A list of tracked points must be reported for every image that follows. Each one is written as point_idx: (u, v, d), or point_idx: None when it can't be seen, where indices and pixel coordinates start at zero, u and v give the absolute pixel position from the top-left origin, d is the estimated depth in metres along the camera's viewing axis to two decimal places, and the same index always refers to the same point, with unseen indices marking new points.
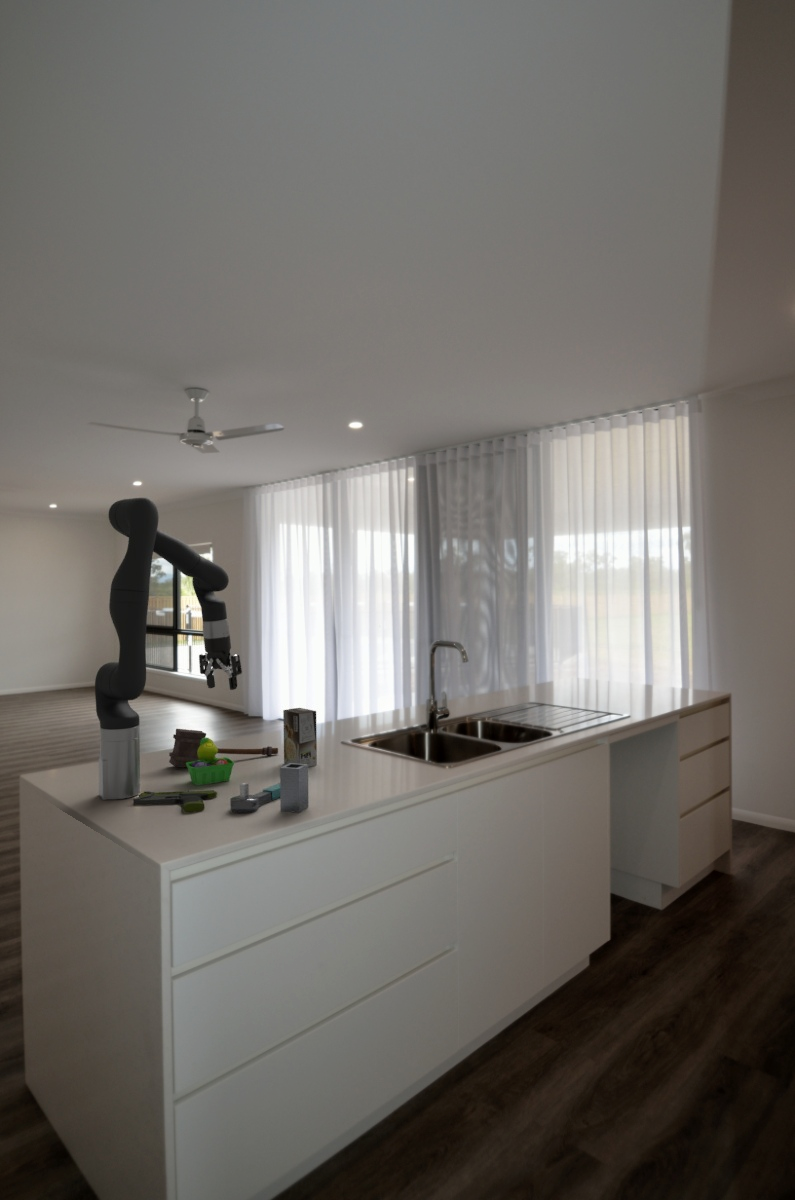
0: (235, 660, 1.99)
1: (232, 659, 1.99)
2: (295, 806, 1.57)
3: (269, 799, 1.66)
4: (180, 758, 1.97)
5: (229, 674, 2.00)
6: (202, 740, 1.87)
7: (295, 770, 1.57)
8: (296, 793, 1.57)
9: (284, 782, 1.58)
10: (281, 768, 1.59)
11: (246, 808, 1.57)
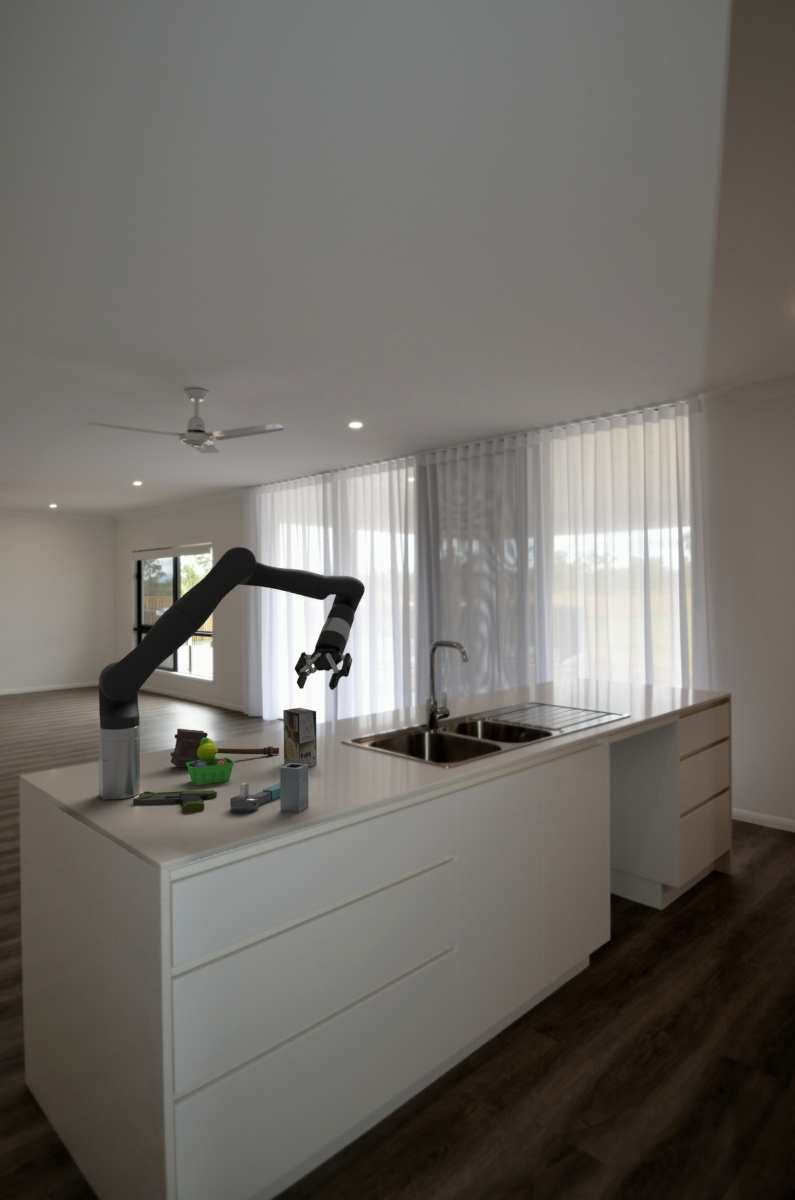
0: (349, 658, 1.75)
1: (347, 655, 1.75)
2: (295, 806, 1.57)
3: (269, 799, 1.66)
4: (181, 758, 1.97)
5: (335, 669, 1.72)
6: (202, 740, 1.87)
7: (295, 770, 1.57)
8: (296, 793, 1.57)
9: (284, 782, 1.58)
10: (281, 768, 1.59)
11: (246, 808, 1.57)
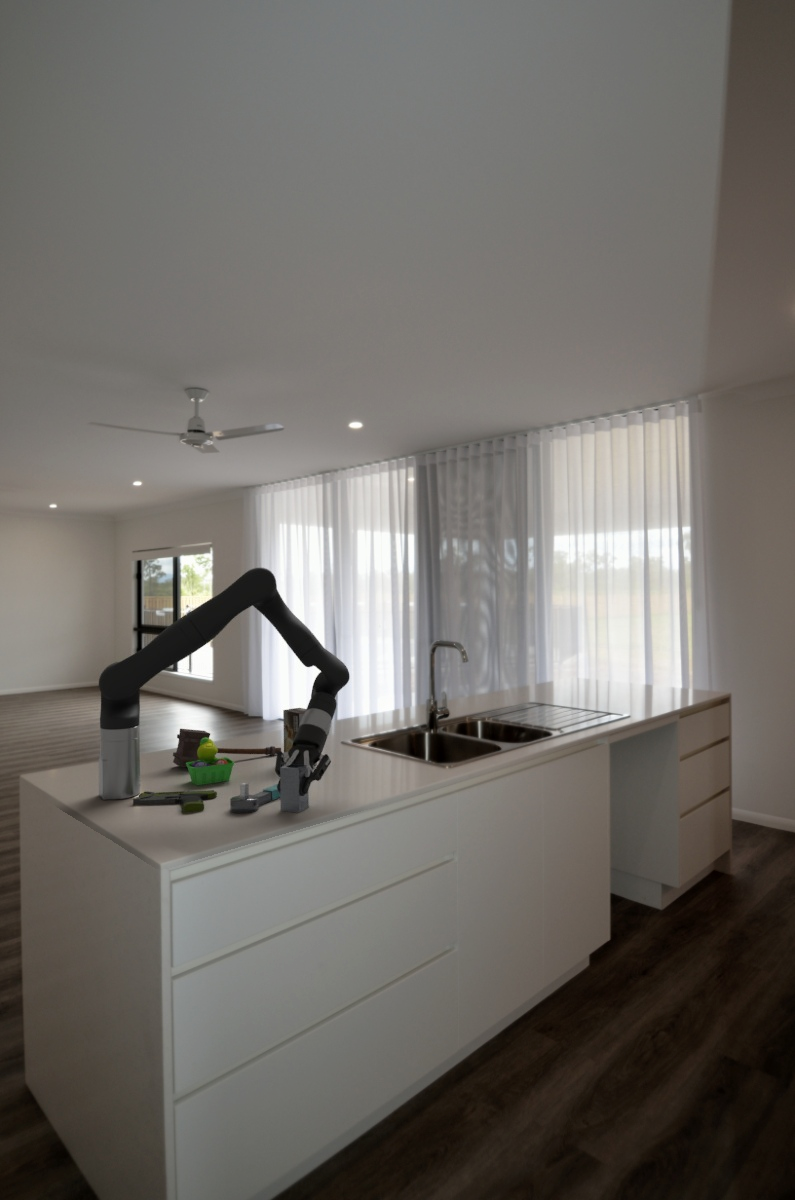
0: (326, 761, 1.62)
1: (324, 758, 1.62)
2: (295, 806, 1.57)
3: (269, 799, 1.66)
4: (184, 758, 1.97)
5: (307, 773, 1.60)
6: (202, 740, 1.87)
7: (295, 770, 1.57)
8: (296, 793, 1.57)
9: (284, 782, 1.58)
10: (281, 768, 1.59)
11: (246, 808, 1.57)
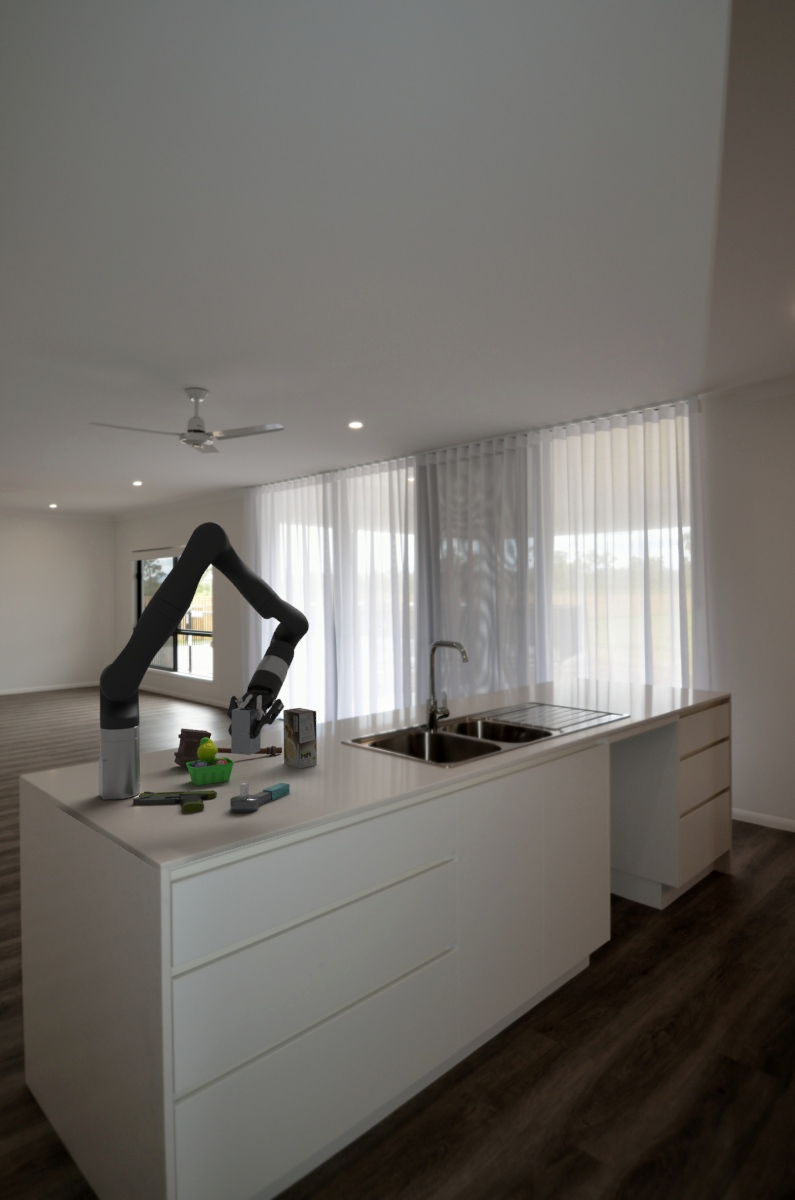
0: (278, 705, 1.61)
1: (277, 702, 1.61)
2: (246, 749, 1.57)
3: (269, 799, 1.66)
4: (185, 757, 1.98)
5: (259, 716, 1.59)
6: (202, 740, 1.87)
7: (246, 712, 1.57)
8: (247, 735, 1.57)
9: (235, 725, 1.58)
10: (233, 710, 1.58)
11: (246, 808, 1.57)
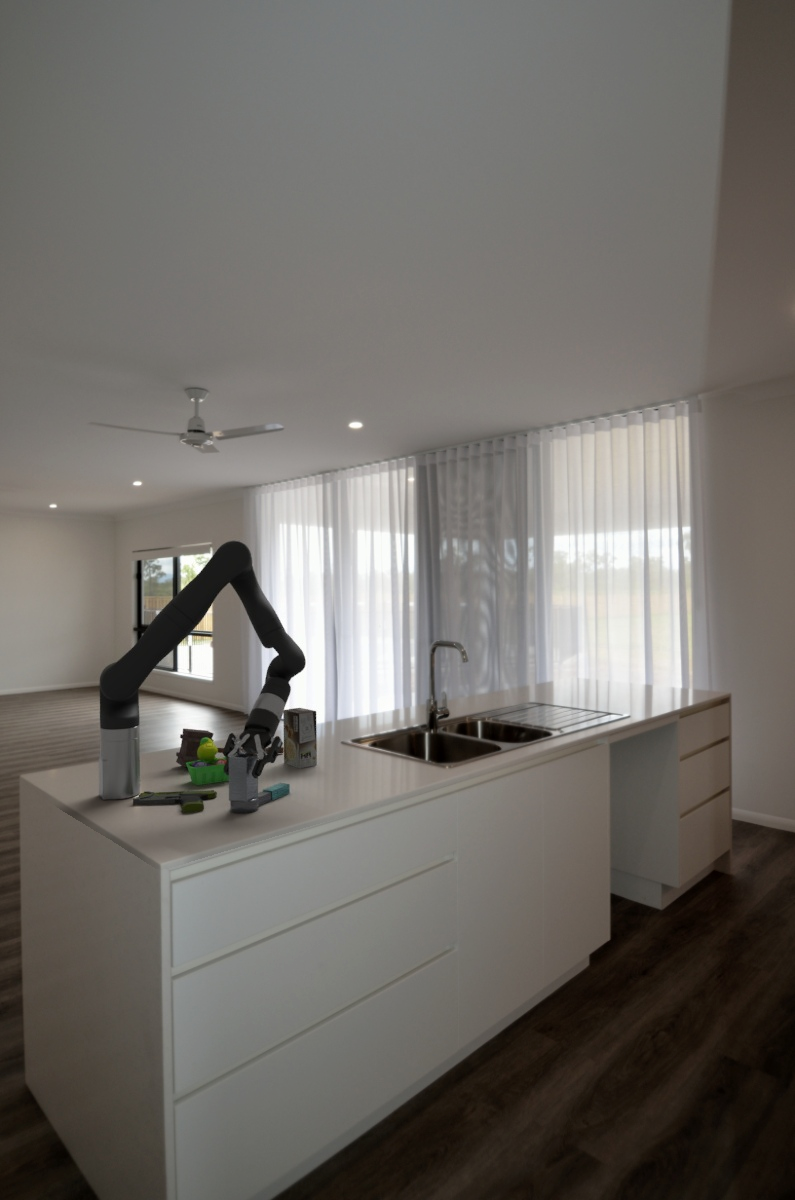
0: (278, 742, 1.62)
1: (276, 739, 1.62)
2: (243, 796, 1.57)
3: (269, 799, 1.66)
4: (187, 757, 1.98)
5: (260, 755, 1.59)
6: (202, 740, 1.87)
7: (243, 760, 1.57)
8: (244, 783, 1.57)
9: (232, 772, 1.58)
10: (229, 758, 1.58)
11: (246, 808, 1.57)
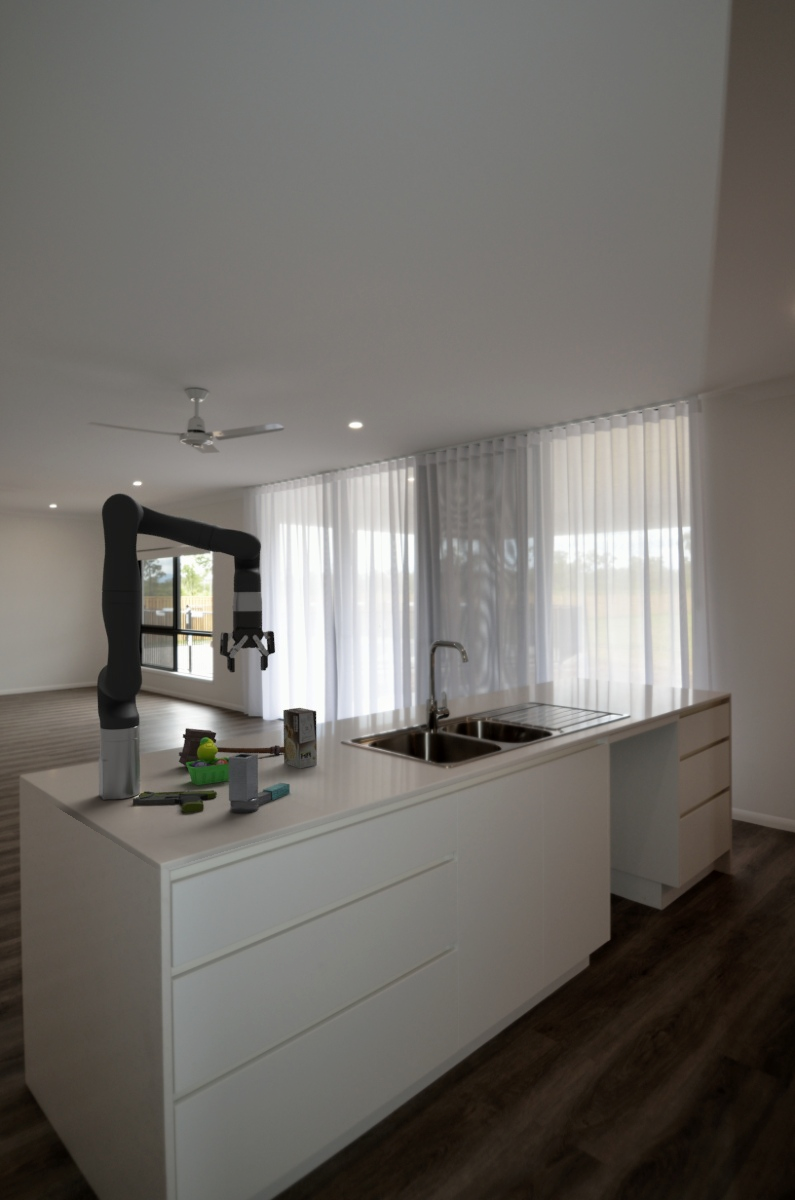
0: None
1: (272, 635, 1.82)
2: (243, 796, 1.57)
3: (269, 799, 1.66)
4: (191, 757, 1.98)
5: (265, 652, 1.81)
6: (202, 740, 1.87)
7: (243, 760, 1.57)
8: (244, 783, 1.57)
9: (232, 772, 1.58)
10: (229, 758, 1.58)
11: (246, 808, 1.57)
